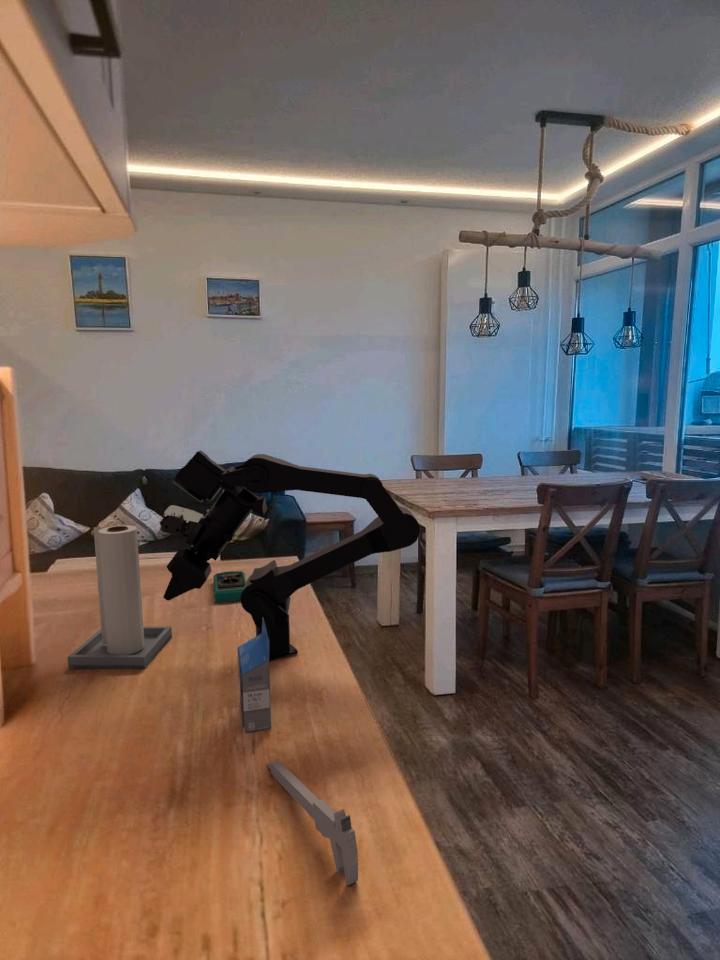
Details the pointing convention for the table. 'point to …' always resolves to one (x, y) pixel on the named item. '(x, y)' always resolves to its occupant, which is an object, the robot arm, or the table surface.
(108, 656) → the tray
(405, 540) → the robot arm
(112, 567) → the paper towel roll
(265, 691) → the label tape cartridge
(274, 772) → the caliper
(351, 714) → the table surface
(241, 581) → the digital multimeter
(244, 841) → the table surface
